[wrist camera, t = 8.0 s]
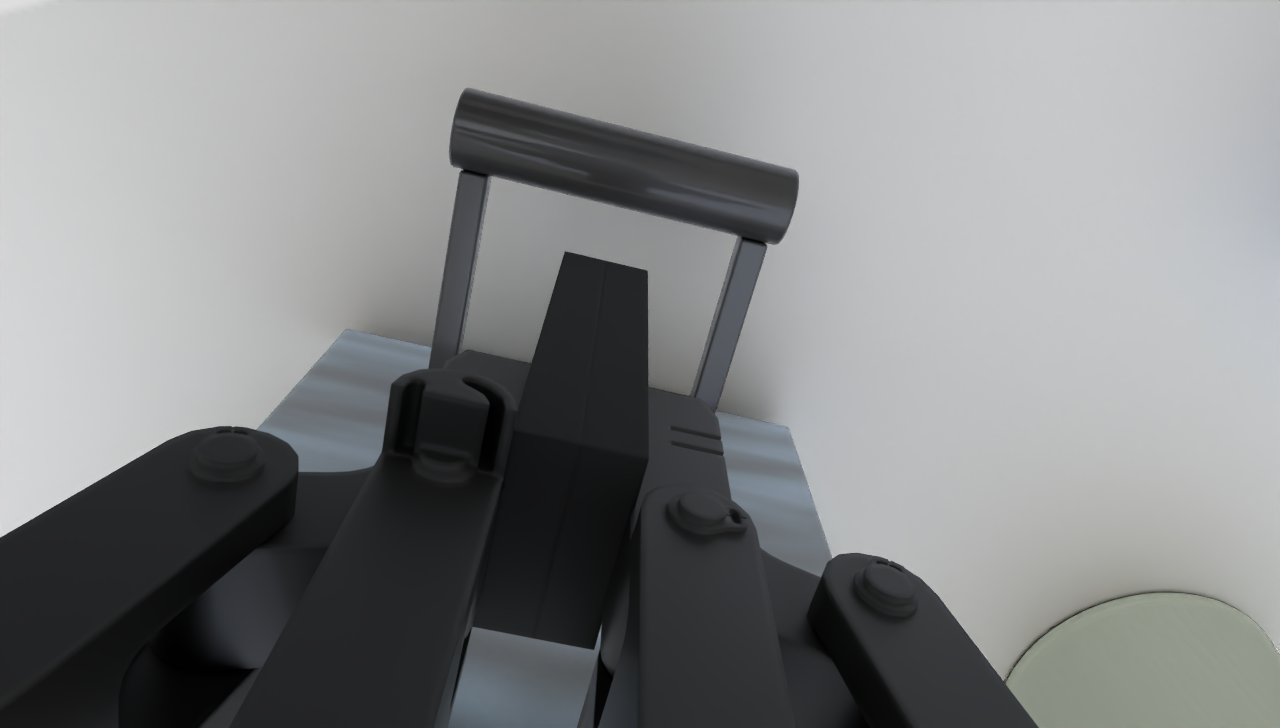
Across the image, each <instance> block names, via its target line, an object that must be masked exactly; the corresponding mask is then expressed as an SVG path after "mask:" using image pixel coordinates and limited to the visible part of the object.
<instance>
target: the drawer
mask: <svg viewBox="0 0 1280 728" xmlns="http://www.w3.org/2000/svg"><path fill="white" fill-rule="evenodd" d="M449 158H450V163H451V165H452V166H453V167H456V168H460V169H463V170H462V171H461V172H460V173H459V179H458V185H457V191H456V197H455V204H454V210H453V216H452V222H451V229H450V235H449V241H448V248H447V254H446V260H445V266H444V273H443V279H442V285H441V291H440V298H439V304H438V310H437V316H436V323H435V329H434V335H433V342H432V347H427V346H423V345H418V344H414V343H409V342H405V341H400V340H396V339H391V338H387V337H382V336H378V335H373V334H369V333H364V332H360V331H355V330H351V329H346V330H345V331H344V332H343V333H342V334H341V335H340V336H339V338H338V339H337V340H336V341H335V342H334V343H333V344H332V345H331V347H330V348H329V349H328V350H327V351H326V352H325V353H324V355H323V356H322V357H321V358H320V359H319V360H318V361H317V362H316V364H315V365H314V366H313V367H312V368H311V369H310V370H309V371H308V373H307V374H306V375H305V376H304V377H303V378H302V379H301V380H300V382H299V383H298V384H297V385H296V386H295V387H294V388H293V389H292V391H291V392H290V393H289V394H288V395H287V396H286V397H285V398H284V400H283V401H282V402H281V403H280V404H279V405H278V406H277V408H276V409H275V410H274V411H273V412H272V413H271V414H270V415H269V417H268V418H267V419H266V420H265V421H264V422H263V423H262V424H261V426H260V427H259V428H258V429H257V430H258V431H262V432H266V433H270V434H272V435H274V436H276V437H278V438H280V439H282V440H283V441H285V442H287V443H289V444H290V446H291V447H292V448H293V449H294V451H295V452H296V453H297V454H298V456H299V471H298V472H344V471H354V470H359V469H364V468H369V467H372V466H374V465H375V463H376V461H377V459H378V458H379V456H380V454H381V452H382V447H383V439H384V432H385V425H386V418H387V411H388V403H389V396H390V389H391V384H392V383H393V382H394V381H395V380H396V379H398V378H399V377H400V376H401V375H403V374H406V373H410V372H413V371H416V370H420V369H434V368H443V366H444V364H445V362H446V361H447V360H449V359H451V358H453V357H455V356H457V355H459V354H460V353H461V349H462V343H463V338H464V332H465V326H466V320H467V315H468V309H469V303H470V298H471V292H472V286H473V280H474V275H475V269H476V263H477V257H478V252H479V246H480V240H481V235H482V229H483V223H484V217H485V212H486V206H487V200H488V194H489V189H490V183H491V177H492V176H493V177H497V178H502V179H506V180H510V181H514V182H518V183H522V184H526V185H530V186H534V187H539V188H543V189H547V190H551V191H555V192H559V193H563V194H567V195H572V196H576V197H580V198H584V199H588V200H592V201H596V202H600V203H605V204H609V205H613V206H617V207H621V208H625V209H629V210H633V211H637V212H642V213H646V214H650V215H654V216H658V217H662V218H666V219H670V220H675V221H679V222H683V223H687V224H691V225H695V226H699V227H703V228H708V229H712V230H716V231H720V232H724V233H728V234H732V235H736V236H737V240H736V243H735V246H734V250H733V253H732V256H731V260H730V263H729V267H728V270H727V273H726V277H725V280H724V283H723V287H722V290H721V294H720V297H719V300H718V304H717V307H716V310H715V314H714V317H713V320H712V324H711V327H710V331H709V334H708V337H707V341H706V344H705V347H704V351H703V354H702V358H701V361H700V364H699V368H698V371H697V374H696V378H695V381H694V384H693V388H692V391H691V395H690V397H694V398H699V399H702V400H703V401H704V402H705V403H706V405H707V406H708V407H709V408H710V409H711V410H712V412H713V413H714V414H715V415H716V416H717V418H718V420H719V426H720V432H721V441H722V444H723V450H724V454H723V456H725V462H726V468H727V475H728V481H729V487H730V493H731V499H732V501H734V502H736V503H737V504H738V505H739V506H740V507H741V508H742V509H743V510H744V511H745V512H747V513H748V514H749V515H750V517H751V519H752V521H753V523H754V525H755V527H756V529H757V534H758V539H759V544H760V548H762V549H763V550H764V551H766V552H767V553H769V554H770V555H772V556H774V557H776V558H778V559H780V560H782V561H784V562H786V563H788V564H790V565H793V566H795V567H798V568H800V569H802V570H805V571H807V572H810V573H812V574H814V575H817V576H819V577H821V576H822V574H823V571H824V569H825V566H826V564H827V562H828V561H830V560H831V559H832V556H831V553H830V550H829V547H828V544H827V541H826V538H825V535H824V532H823V529H822V526H821V523H820V520H819V517H818V514H817V511H816V508H815V505H814V502H813V499H812V496H811V493H810V490H809V487H808V484H807V481H806V478H805V475H804V472H803V469H802V466H801V463H800V460H799V457H798V454H797V451H796V448H795V445H794V442H793V439H792V436H791V433H790V430H789V428H788V427H786V426H781V425H777V424H773V423H768V422H764V421H759V420H755V419H750V418H746V417H741V416H737V415H732V414H728V413H723V412H719V411H716V410H717V406H718V403H719V400H720V397H721V394H722V390H723V387H724V384H725V381H726V378H727V374H728V371H729V368H730V365H731V362H732V358H733V355H734V352H735V349H736V346H737V342H738V339H739V336H740V333H741V330H742V326H743V323H744V320H745V317H746V314H747V310H748V307H749V304H750V301H751V298H752V294H753V291H754V288H755V285H756V282H757V279H758V275H759V272H760V269H761V266H762V263H763V259H764V256H765V253H766V250H767V245H766V243H769V244H773V245H775V244H778V243H780V241H781V240H782V239H783V237H784V235H785V233H786V231H787V229H788V227H789V224H790V222H791V219H792V216H793V213H794V209H795V205H796V201H797V196H798V189H799V175H798V172H797V171H796V170H794V169H790V168H786V167H782V166H778V165H774V164H770V163H766V162H762V161H758V160H754V159H750V158H746V157H742V156H738V155H734V154H730V153H726V152H722V151H718V150H714V149H710V148H706V147H702V146H698V145H694V144H690V143H686V142H682V141H678V140H674V139H670V138H666V137H662V136H658V135H654V134H650V133H646V132H642V131H639V130H635V129H631V128H627V127H623V126H619V125H615V124H611V123H607V122H603V121H599V120H595V119H591V118H587V117H583V116H579V115H575V114H571V113H567V112H563V111H559V110H555V109H551V108H547V107H543V106H539V105H535V104H531V103H527V102H523V101H519V100H515V99H511V98H507V97H503V96H499V95H495V94H491V93H487V92H483V91H479V90H475V89H472V88H466V89H464V91H463V92H462V94H461V96H460V98H459V101H458V104H457V107H456V111H455V115H454V119H453V124H452V130H451V136H450V146H449ZM601 627H602V624H601ZM600 642H601V628H600V631H599V635H598V638H597V642H596V645H595V649H594V650H590V649H585V648H580V647H575V646H569V645H564V644H559V643H554V642H549V641H543V640H538V639H533V638H528V637H523V636H518V635H512V634H507V633H502V632H497V631H492V630H486V629H481V628H476V627H472V630H471V635H470V640H469V645H468V650H467V654H466V659H465V663H464V667H463V671H462V675H461V678H460V682H459V686H458V690H457V694H456V697H455V701H454V705H453V709H452V713H451V717H450V720H449V724H448V728H577V725H578V722H579V718H580V715H581V712H582V708H583V705H584V701H585V698H586V694H587V691H588V687H589V684H590V681H591V677H592V674H593V670H594V667H595V663H596V660H597V656H598V653H599V649H600Z"/></svg>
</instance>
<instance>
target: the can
mask: <svg viewBox="0 0 1280 728" xmlns="http://www.w3.org/2000/svg"><path fill="white" fill-rule="evenodd" d="M1006 685H1007V687H1008V688H1009V689H1010V691H1011V692H1012V693H1013V695H1014V696H1015V697H1016V698H1017V700H1018V701H1019V702H1020V704H1021V705H1022V706H1023V708H1024V709H1025V710H1026V711H1027V713H1028V714H1029V715H1030V717H1031V718H1032V719H1033V721H1034V722H1035V723H1036V725H1037V726H1038V727H1039V728H1280V654H1279V653H1278V652H1277V650H1276V649H1275V647H1274V645H1273V643H1272V642H1271V640H1270V639H1269V637H1268V636H1267V635H1266V633H1265V632H1264V631H1263V630H1262V629H1261V628H1260V627H1259V626H1258V625H1257V624H1256V623H1255V622H1254V621H1253V620H1252V619H1251V618H1249V617H1248V616H1247V615H1245V614H1244V613H1242V612H1241V611H1239V610H1237V609H1235V608H1233V607H1231V606H1229V605H1227V604H1225V603H1223V602H1220V601H1217V600H1214V599H1211V598H1207V597H1202V596H1198V595H1192V594H1184V593H1150V594H1141V595H1134V596H1129V597H1124V598H1120V599H1116V600H1112V601H1109V602H1106V603H1103V604H1100V605H1097V606H1095V607H1092V608H1090V609H1087V610H1085V611H1083V612H1081V613H1079V614H1077V615H1075V616H1073V617H1071V618H1069V619H1067V620H1066V621H1064V622H1063V623H1061V624H1060V625H1058V626H1056V627H1055V628H1053V629H1052V630H1051V631H1049V632H1048V633H1047V634H1046V635H1044V636H1043V637H1042V638H1041V639H1039V640H1038V641H1037V642H1036V643H1035V644H1034V645H1033V646H1032V647H1031V648H1030V649H1029V650H1028V651H1027V652H1026V653H1025V654H1024V656H1023V657H1022V658H1021V659H1020V661H1019V662H1018V663H1017V665H1016V666H1015V667H1014V669H1013V671H1012V672H1011V674H1010V676H1009V677H1008V679H1007V681H1006Z"/></svg>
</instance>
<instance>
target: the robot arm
mask: <svg viewBox="0 0 1280 728" xmlns="http://www.w3.org/2000/svg"><path fill="white" fill-rule="evenodd" d="M723 454H724V450H723V444H722V441H721V432H720V426H719V420H718V418H717V416H716V415H715V414H714V413H713V412H712V410H711V409H710V408H709V407H708V406H707V405H706V403H705V402H704V401H703V400H702V399H699V398H694V397H690V396H685V395H681V394H676V393H672V392H667V391H663V390H658V389H654V388H649V387H648V271H646V270H642V269H638V268H634V267H629V266H625V265H621V264H617V263H612V262H608V261H604V260H600V259H596V258H591V257H587V256H583V255H579V254H574V253H570V252H566V251H565V253H564V256H563V260H562V263H561V266H560V270H559V273H558V276H557V280H556V283H555V286H554V290H553V293H552V297H551V300H550V303H549V307H548V310H547V313H546V317H545V320H544V323H543V327H542V330H541V333H540V337H539V340H538V344H537V347H536V350H535V354H534V357H533V360H532V364H530V363H525V362H521V361H517V360H512V359H508V358H503V357H499V356H494V355H490V354H485V353H481V352H476V351H472V350H466V351H464V352H462V353H460V354H459V355H457V356H455V357H453V358H451V359H449V360H447V361H446V362H445V364H444V366H443V368H434V369H420V370H416V371H413V372H410V373H406V374H403V375H401V376H400V377H399V378H398V379H396V380H395V381H394V382H393V383H392V384H391V389H390V396H389V403H388V411H387V418H386V425H385V432H384V439H383V447H382V452H381V454H380V456H379V458H378V459H377V461H376V463H375V465H374V466H372V467H369V468H364V469H359V470H354V471H344V472H298V471H299V456H298V454H297V453H296V452H295V451H294V449H293V448H292V447H291V446H290V444H289V443H287V442H285V441H283V440H282V439H280V438H278V437H276V436H274V435H272V434H270V433H266V432H262V431H258V430H253V429H250V428H245V427H236V426H235V427H232V426H219V427H213V428H207V429H201V430H194V431H190V432H188V433H185V434H183V435H180V436H178V437H175V438H173V439H170V440H168V441H166V442H164V443H163V444H161V445H159V446H158V447H156V448H154V449H152V450H151V451H149V452H147V453H146V454H144V455H142V456H140V457H139V458H137V459H135V460H133V461H132V462H130V463H128V464H127V465H125V466H123V467H121V468H120V469H118V470H116V471H115V472H113V473H111V474H109V475H108V476H106V477H104V478H102V479H101V480H99V481H97V482H96V483H94V484H92V485H90V486H89V487H87V488H85V489H84V490H82V491H80V492H78V493H77V494H75V495H73V496H71V497H70V498H68V499H66V500H65V501H63V502H61V503H59V504H58V505H56V506H54V507H53V508H51V509H49V510H47V511H46V512H44V513H42V514H40V515H39V516H37V517H35V518H34V519H32V520H30V521H28V522H27V523H25V524H23V525H22V526H20V527H18V528H16V529H15V530H13V531H11V532H9V533H8V534H6V535H4V536H3V537H1V538H0V728H448V724H449V720H450V717H451V713H452V709H453V705H454V701H455V697H456V694H457V690H458V686H459V682H460V678H461V675H462V671H463V667H464V663H465V659H466V654H467V650H468V645H469V640H470V635H471V630H472V627H476V628H481V629H486V630H492V631H497V632H502V633H507V634H512V635H518V636H523V637H528V638H533V639H538V640H543V641H549V642H554V643H559V644H564V645H569V646H575V647H580V648H585V649H590V650H594V649H595V645H596V642H597V638H598V635H599V631H600V628H601V642H600V649H599V653H598V656H597V660H596V663H595V667H594V670H593V674H592V677H591V681H590V684H589V687H588V691H587V694H586V698H585V701H584V705H583V708H582V712H581V715H580V718H579V722H578V725H577V728H1039V727H1038V726H1037V725H1036V723H1035V722H1034V721H1033V719H1032V718H1031V717H1030V715H1029V714H1028V713H1027V711H1026V710H1025V709H1024V708H1023V706H1022V705H1021V704H1020V702H1019V701H1018V700H1017V698H1016V697H1015V696H1014V695H1013V693H1012V692H1011V691H1010V689H1009V688H1008V687H1007V685H1006V684H1005V683H1004V681H1003V680H1002V679H1001V678H1000V676H999V675H998V674H997V672H996V671H995V670H994V668H993V667H992V666H991V665H990V663H989V662H988V661H987V659H986V658H985V657H984V655H983V654H982V653H981V651H980V650H979V649H978V648H977V646H976V645H975V644H974V642H973V641H972V640H971V638H970V637H969V636H968V635H967V633H966V632H965V631H964V629H963V628H962V627H961V625H960V624H959V623H958V621H957V620H956V619H955V618H954V616H953V615H952V614H951V612H950V611H949V610H948V608H947V607H946V606H945V605H944V603H943V602H942V601H941V599H940V598H939V597H938V595H937V594H936V593H935V592H934V591H933V590H932V589H931V588H930V587H929V586H928V585H927V584H926V583H925V582H924V581H923V580H922V579H920V578H919V577H917V576H916V575H914V574H912V573H911V572H909V571H908V570H906V569H905V568H904V567H903V566H901V565H899V564H897V563H895V562H893V561H891V562H890V561H888V559H884V558H881V557H878V556H871V555H866V554H861V553H850V554H840V555H837V556H836V557H834V558H833V559H831V560H830V561H828V562H827V564H826V566H825V569H824V571H823V574H822V576H821V577H819V576H817V575H814V574H812V573H810V572H807V571H805V570H802V569H800V568H798V567H795V566H793V565H790V564H788V563H786V562H784V561H782V560H780V559H778V558H776V557H774V556H772V555H770V554H769V553H767V552H766V551H764V550H763V549H762V548H760V544H759V539H758V534H757V529H756V527H755V525H754V523H753V521H752V519H751V517H750V515H749V514H748V513H747V512H745V511H744V510H743V509H742V508H741V507H740V506H739V505H738V504H737V503H736V502H734V501H732V499H731V493H730V487H729V481H728V475H727V468H726V462H725V456H723ZM601 624H602V627H601Z"/></svg>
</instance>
